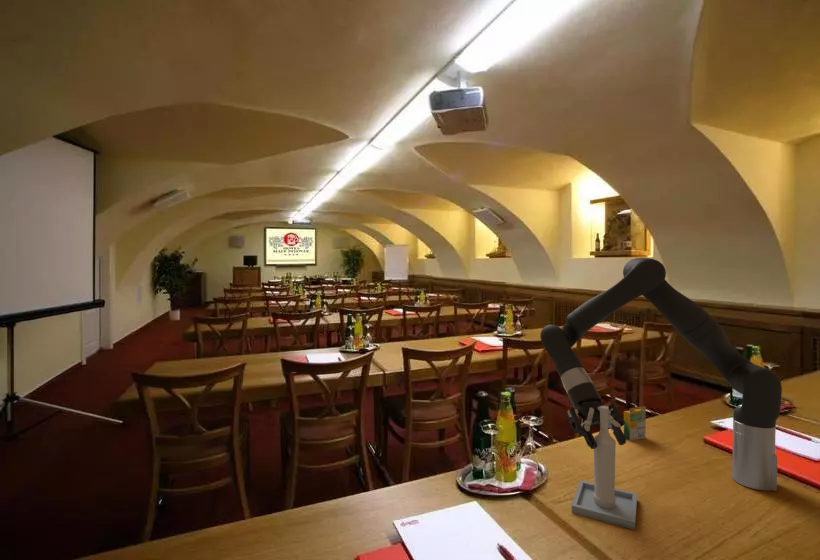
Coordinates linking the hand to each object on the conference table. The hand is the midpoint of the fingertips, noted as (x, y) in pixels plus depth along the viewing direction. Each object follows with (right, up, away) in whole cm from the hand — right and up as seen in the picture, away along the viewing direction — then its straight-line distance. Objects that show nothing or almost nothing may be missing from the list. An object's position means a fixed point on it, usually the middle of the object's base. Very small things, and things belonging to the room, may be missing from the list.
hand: (609, 445), depth 104 cm
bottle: (0, -16, +2) cm, 16 cm away
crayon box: (+30, -15, +43) cm, 55 cm away
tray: (0, -16, +2) cm, 16 cm away
